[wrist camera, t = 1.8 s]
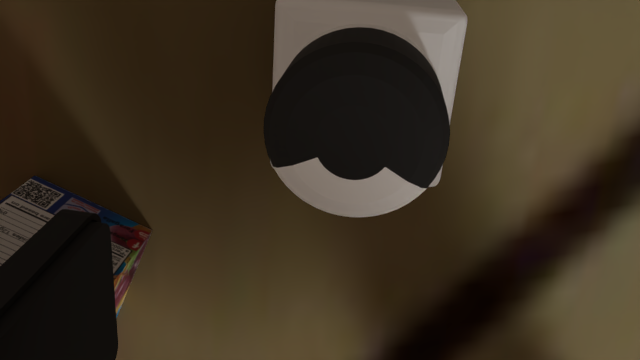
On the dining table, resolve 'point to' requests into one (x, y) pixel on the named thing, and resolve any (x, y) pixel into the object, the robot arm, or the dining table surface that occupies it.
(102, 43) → the dining table surface
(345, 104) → the medicine bottle
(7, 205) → the juice carton
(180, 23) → the dining table surface
